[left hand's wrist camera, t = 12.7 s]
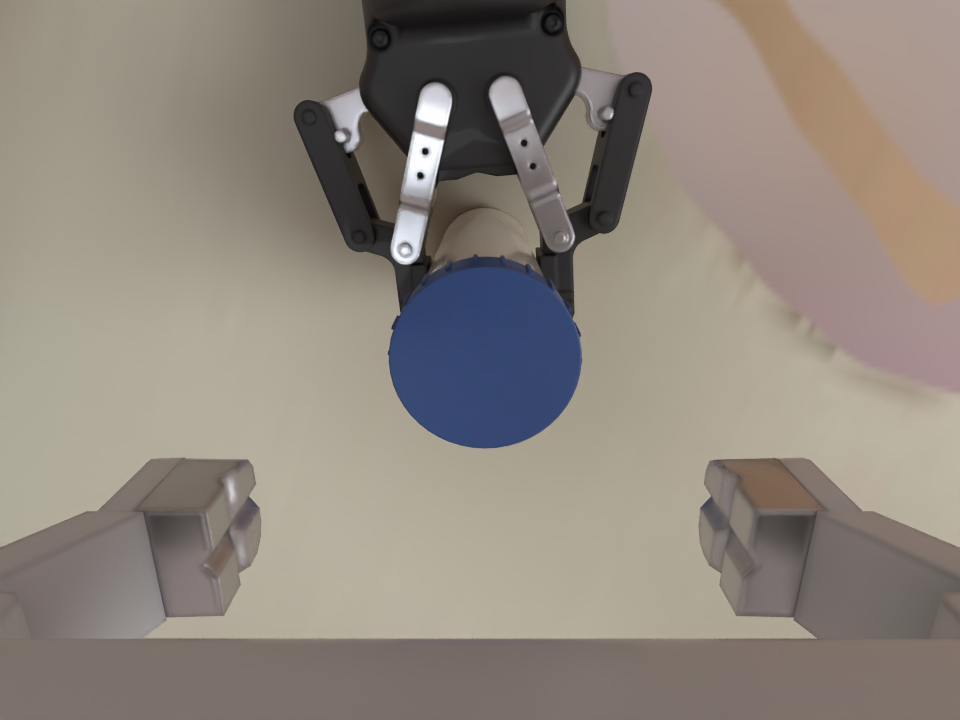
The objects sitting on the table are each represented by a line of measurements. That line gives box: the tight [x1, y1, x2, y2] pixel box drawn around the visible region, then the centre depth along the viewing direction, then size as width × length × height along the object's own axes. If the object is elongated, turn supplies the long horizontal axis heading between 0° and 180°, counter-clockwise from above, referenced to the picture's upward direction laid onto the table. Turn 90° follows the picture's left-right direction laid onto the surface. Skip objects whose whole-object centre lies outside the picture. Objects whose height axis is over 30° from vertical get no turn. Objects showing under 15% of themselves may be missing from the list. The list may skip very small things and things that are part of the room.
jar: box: [428, 208, 544, 277], centre depth 25 cm, size 5×5×17 cm
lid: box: [388, 254, 582, 448], centre depth 17 cm, size 5×5×2 cm
